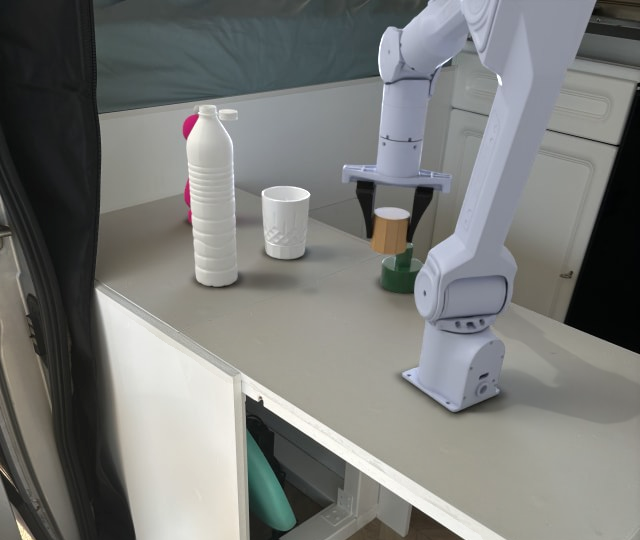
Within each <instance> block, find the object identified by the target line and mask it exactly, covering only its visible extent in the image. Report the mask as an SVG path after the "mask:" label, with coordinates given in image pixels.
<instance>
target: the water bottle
mask: <svg viewBox="0 0 640 540" xmlns="http://www.w3.org/2000/svg"><path fill="white" fill-rule="evenodd" d="M199 105H200V106H199V111H200V112H198V114H199V118H198V120H197V122H196V124H195V125H194V127H193V129H192V131H191V133H190V134H189V136H188V139H187V140H186V144H185V145H186V147H185V150H186V158H187V167H188V168H187V171H188V177H189V184H190V196H191V198H190V201H191V212H192V224H191V226H192V237H193V241H192V242H193V250H194V254H193V255H194V262H195V263H194V269H195V270H194V271H195V279H196V281H197V282H198V283H199V284H202V285H203V286H206V287H211V286H212V287H214V288H215V287H216V288H217V287H218V288H219V287H220V288H221V287H224V286H229V285H232V284H234V283H235V282H236V281H237V280H238V277H239V276H238V273H239V272H238V263H237V261H238V253H237V238H236V235H237V228H236V224H237V221H236V219H237V218H236V214H235V213H236V199H235V173H234V172H235V170H234V144H233V140H232V138H231V136H230V135H229V133H228V131H227V130H226V128H225V127H224V125H223V124H222V122H221V121H224V122H233V121H238V119H239V117H238V116H239V115H238V113H239V112H238V110H236V109H230V108H223V109H219V110H217V106H216V105H214V104H199ZM220 120H221V121H220Z"/></svg>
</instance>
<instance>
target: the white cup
mask: <svg viewBox="0 0 640 540" xmlns="http://www.w3.org/2000/svg"><path fill="white" fill-rule="evenodd" d="M310 199H311V194H310V192H309V191H308V190H306V189H304V188H302V187H296V186H290V185H289V186H288V185H279V186H271V187H267V188H265V189H262V191H261V208H262V224H263V237H264V248H265V249H264V250H265V253H266V255H268V256H269V257H271V258H275V259H279V260H294V259H298V258H300V257H303V256H304V254H305V253H306V239H307V235H308V223H309V212H310V211H309V210H310Z"/></svg>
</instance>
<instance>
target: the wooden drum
mask: <svg viewBox="0 0 640 540" xmlns="http://www.w3.org/2000/svg"><path fill="white" fill-rule="evenodd" d="M411 217H412V216H411V213H410V212H409V211H408V210H406V209H403V208H400V207H395V206H384V207H383V206H382V207H378V208H377V209H374V215H373V223H372V238H371V239H370V243H369V244H370V245H369V247H370V249H371V250H372V251H374V252H376V253H379V254H382V255H391V256H395V255H397V254H400V253H404V252H405V250H406V249H407V237H408V231H409V226H410V222H411Z"/></svg>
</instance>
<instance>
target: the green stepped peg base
mask: <svg viewBox="0 0 640 540" xmlns="http://www.w3.org/2000/svg"><path fill="white" fill-rule="evenodd" d="M413 254H414V244H413V243H407V249H406V250H405V252H404V253H400V254H397V255H391V256H388V257H385V258H384V259H383V260H382V262H381V269H380V270H381V271H380V272H381V273H380V282H379V284H380V286H381V287H382V288H383V289H385V290H387V291H389V292H393V293H398V294H410V293H414V287H415V281H416V277H417V275H418V273H419V271H420V270H421V268H422V267H423V266H424V264H423V262H422V261H421V260H419V259H417V258H414V257H413Z"/></svg>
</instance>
